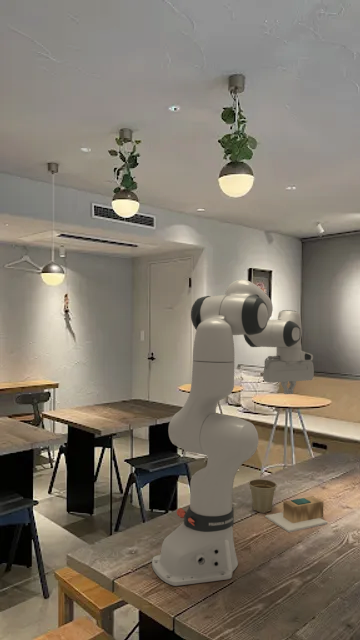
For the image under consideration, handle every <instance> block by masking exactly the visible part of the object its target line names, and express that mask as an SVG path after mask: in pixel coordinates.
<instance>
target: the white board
mask: <svg viewBox="0 0 360 640" xmlns="http://www.w3.org/2000/svg"><path fill="white" fill-rule="evenodd" d="M265 518H266V519H267V520H269V521H270V522H272V523H273V524H275V525H276V526H278V527H280V528H282V529H283V530H284V531H286V532H287V533H293V532H296V531H302V530H305V529H310V528H311V529H312V528H315V527H319V526H320V527H321V526H325V525H328V522H329V521H327V520H325V519H323V518H322V517H321V518H316V519H311V520H306V521H301V522H296V523H292V522H290V521H289V520H287V519H285V518H284V517H283V511H282V512H277V513H271V514H266V515H265Z"/></svg>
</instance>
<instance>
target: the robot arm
mask: <svg viewBox="0 0 360 640" xmlns="http://www.w3.org/2000/svg"><path fill="white" fill-rule="evenodd" d="M273 308H274V307H273V303H272V300H271V298H270V296H268V295H267V294H266V292H265V291H264V290H263V289H262V288H260V287H259V286H258V285H257V284H255V283H253V282H252V281H249V280H248V279H244V278H243V279H237V280H234V281H232V282H231V283H229V285H228V286H227V288H226V290H225V294H221V295H220V294H219V295H213V296H211V295H206V296H202V297H199V298H197V299H196V300H195V301H194V302H193V305H192V306H191V310H190V320H191V323H192V325H193V328H194V329H195V330H196V331H195V334H194V335H195V336H194V340H193V349H192V367H191V371H192V372H191V386H190V391H189V394H188V397H187V399H186V401H185V403H184V404H183V406H182V407H181V409H179V411H178V412H176V413H174V415H173V416H172V417H171V419H170V420H169V423H168V430H167V431H168V437H169V440H170V442H171V443H172V445H174V446H176V447H178V448H180V449H182V450H184V451H186V452H190V453H195V454H200V455H203V456H207V463H206V466H205V467H203V468H200V469H199V470H197V471H196V472H195V473H194V474H192V477H191V479H190V482H189V483H190V484H189V486H190V487H189V494H190V496H189V503H190V504H189V506H188V508H187V511H186V510H184V509H183V507H182V508H181V507H180V508H178V509H177V510H176V515H177V516H178V517H180V518H181V519H183V522H182V523H181V524H179V526H177V528H175V529H174V530H173V531H172V532H171V533H170V534H169V535H167V536H166V537H165V538H164V540H163V541H162V544H161V549H160V554H158V555H155V556H153V557H152V559H151V560H152V561H151V568H152V570H153V571H154V573H155V575H156V576H157V577H158V578H159V579H160V580H162V581H163V582H165V583H167V585H170V586H176V587H177V586H184V585H185V586H186V585H193V584H194V585H195V584H200V583H209V582H217V581H223V580H224V581H225V580H230V579H231V578H233V572H234V571H235V570H236V569H237V567H238V565H239V560H238V557H237V554H236V549H235V543H234V531H233V528H234V523H235V521H234V520H235V511H234V510H235V509H234V507H233V493H234V492H233V490H234V482H235V478H236V475H237V472H238V470H239V468H241V466H242V465H243V464H244V463H245V462H247V461H249V459H252V457H253V456H254V455H255V453H256V451H257V449H258V448H259V447H258V446H259V441H260V440H259V433H258V430H257V428H256V427H255V425H254V424H253V423H252V422H251V421H248V420H246V419H243V418H240V417H238V416H233V415H226V414H219V413H217V408H218V407H217V406H218V404H219V402H220V401H222V400H223V399H225V398H227V397H229V396H230V395H231V394H232V392H233V391H234V388H235V343H234V336H241V335H242V336H243V338H244V341H245V342H246V343H247V345H248V346H250V348H262V347H263V348H276V355H269V356H267V357H266V358H265V359H264V367H263V376H262V379H263V381H264V382H266V383H280V385H281V387H282V389H283V394H284V395H292V394H294V389H295V387H296V385H297V382H303V381H305V382H306V381H312V380H313V378H315V377H314V375H315V371H314V370H315V369H314V363H313V359H314V355H313V354H312V353H309V352H306V351H304V350H303V349H302V343H301V341H302V340H301V339H302V335H303V333H302V332H303V331H302V330H303V329H302V326H303V325H302V318H301V314H300V312H298V311H296V310H291V309H290V310H289V309H285V310H280V311H279V312H278V315H277V319H271V317H272V316H273V315H272V314H273V311H274V309H273ZM288 384H290V385H289V386H288Z"/></svg>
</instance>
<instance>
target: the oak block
mask: <svg viewBox="0 0 360 640" xmlns="http://www.w3.org/2000/svg"><path fill="white" fill-rule="evenodd" d="M282 503H283V505H282V506H283V507H282V508H283V511H282V512H283V517H284V518H285V519H287V520H289V521H290V522H292V523H296V522H301V521H306V520H311V519H316V518H321V519H322V518H324V503H325V502H324V500H322V499H319V498H317V497H316V496H314V495H312V496H307V497H300V498H296V499H295V498H294V499H289V500H284V501H282Z"/></svg>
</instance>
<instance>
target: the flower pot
mask: <svg viewBox="0 0 360 640" xmlns="http://www.w3.org/2000/svg"><path fill="white" fill-rule="evenodd" d="M248 485H249V489H250V494H251V495H250V496H251V501H252V509H253V511H257V512H258V513H268V512H271V511H272V508H273V502H274V495H275V491H276V488H277V487H278V485H277V482H274V481H272V480H269V479H261V478H260V479H259V478H258V479H251V480H250V481H248Z"/></svg>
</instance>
